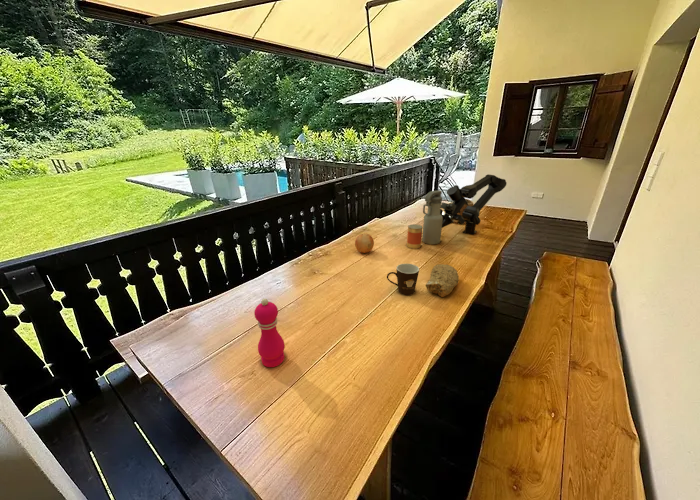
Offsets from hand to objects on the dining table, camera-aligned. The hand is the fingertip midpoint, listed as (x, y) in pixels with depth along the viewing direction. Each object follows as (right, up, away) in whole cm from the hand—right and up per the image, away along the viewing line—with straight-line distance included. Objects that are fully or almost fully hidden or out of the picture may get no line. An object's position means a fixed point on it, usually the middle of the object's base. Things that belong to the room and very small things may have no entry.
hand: (439, 228), depth 165 cm
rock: (-12, -27, -43) cm, 52 cm away
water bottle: (-5, -8, +1) cm, 9 cm away
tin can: (-15, -10, -5) cm, 19 cm away
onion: (-42, -13, -11) cm, 45 cm away
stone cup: (+25, +7, +34) cm, 42 cm away
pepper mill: (-71, -43, -80) cm, 116 cm away
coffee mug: (-29, -28, -47) cm, 62 cm away
